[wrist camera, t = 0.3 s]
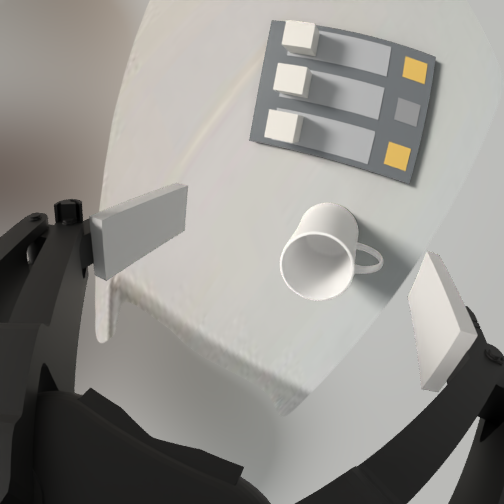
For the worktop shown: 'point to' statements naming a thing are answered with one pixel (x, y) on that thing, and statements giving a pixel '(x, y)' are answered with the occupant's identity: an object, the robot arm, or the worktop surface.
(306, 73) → the cream cube block
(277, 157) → the worktop surface
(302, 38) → the white cube
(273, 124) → the off-white cube
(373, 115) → the switch bank
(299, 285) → the mug
